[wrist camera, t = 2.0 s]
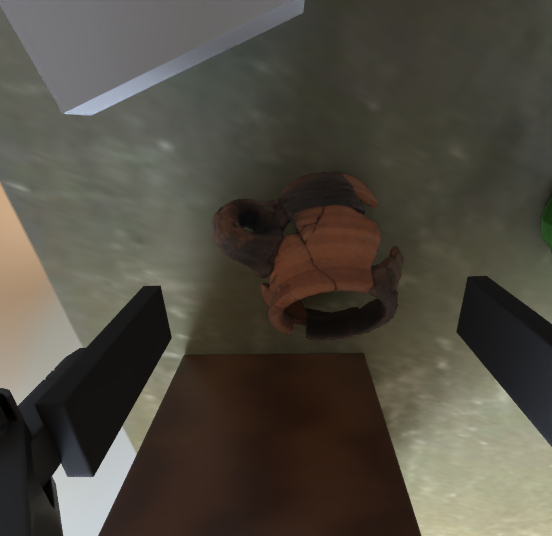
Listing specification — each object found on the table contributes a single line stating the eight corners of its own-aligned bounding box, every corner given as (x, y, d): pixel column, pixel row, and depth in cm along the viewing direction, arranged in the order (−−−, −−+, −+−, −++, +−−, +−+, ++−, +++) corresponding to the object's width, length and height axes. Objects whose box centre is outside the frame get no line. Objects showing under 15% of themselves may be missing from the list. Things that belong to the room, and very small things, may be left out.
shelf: (364, 352, 26) (442, 601, 12) (353, 493, 33) (396, 748, 20) (183, 354, 27) (72, 587, 13) (211, 490, 34) (157, 733, 21)
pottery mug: (412, 186, 21) (455, 293, 16) (335, 264, 28) (350, 356, 23) (237, 118, 17) (226, 233, 12) (199, 229, 24) (182, 330, 19)
